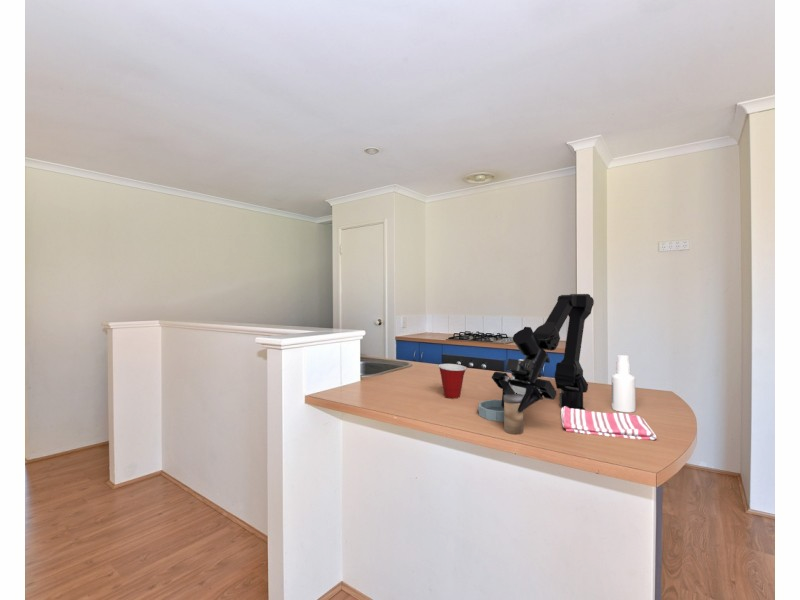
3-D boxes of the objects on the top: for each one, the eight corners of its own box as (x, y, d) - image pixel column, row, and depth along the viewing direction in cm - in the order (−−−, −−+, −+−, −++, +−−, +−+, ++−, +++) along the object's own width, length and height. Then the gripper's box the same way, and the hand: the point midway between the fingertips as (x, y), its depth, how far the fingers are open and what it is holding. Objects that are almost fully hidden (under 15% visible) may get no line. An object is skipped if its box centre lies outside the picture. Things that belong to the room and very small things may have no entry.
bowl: (517, 408, 133) (517, 400, 133) (525, 421, 120) (525, 412, 120) (477, 408, 135) (477, 399, 135) (480, 420, 121) (480, 411, 121)
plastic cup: (466, 401, 144) (466, 368, 143) (437, 400, 146) (436, 367, 146) (467, 393, 154) (467, 363, 154) (440, 392, 156) (439, 362, 156)
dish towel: (560, 415, 127) (560, 405, 127) (643, 422, 119) (643, 411, 118) (562, 433, 111) (562, 421, 111) (659, 443, 103) (659, 430, 103)
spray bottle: (631, 407, 132) (631, 354, 132) (638, 413, 126) (637, 357, 125) (609, 406, 134) (609, 353, 134) (614, 412, 128) (614, 357, 127)
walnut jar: (521, 428, 114) (521, 393, 114) (525, 434, 109) (524, 398, 109) (502, 427, 115) (502, 393, 115) (505, 434, 110) (505, 398, 110)
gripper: (494, 345, 121) (471, 386, 115) (550, 351, 107) (527, 399, 100) (510, 367, 126) (489, 408, 120) (565, 376, 112) (544, 423, 105)
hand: (510, 409), depth 111 cm, fingers closed on walnut jar, 5 cm apart
